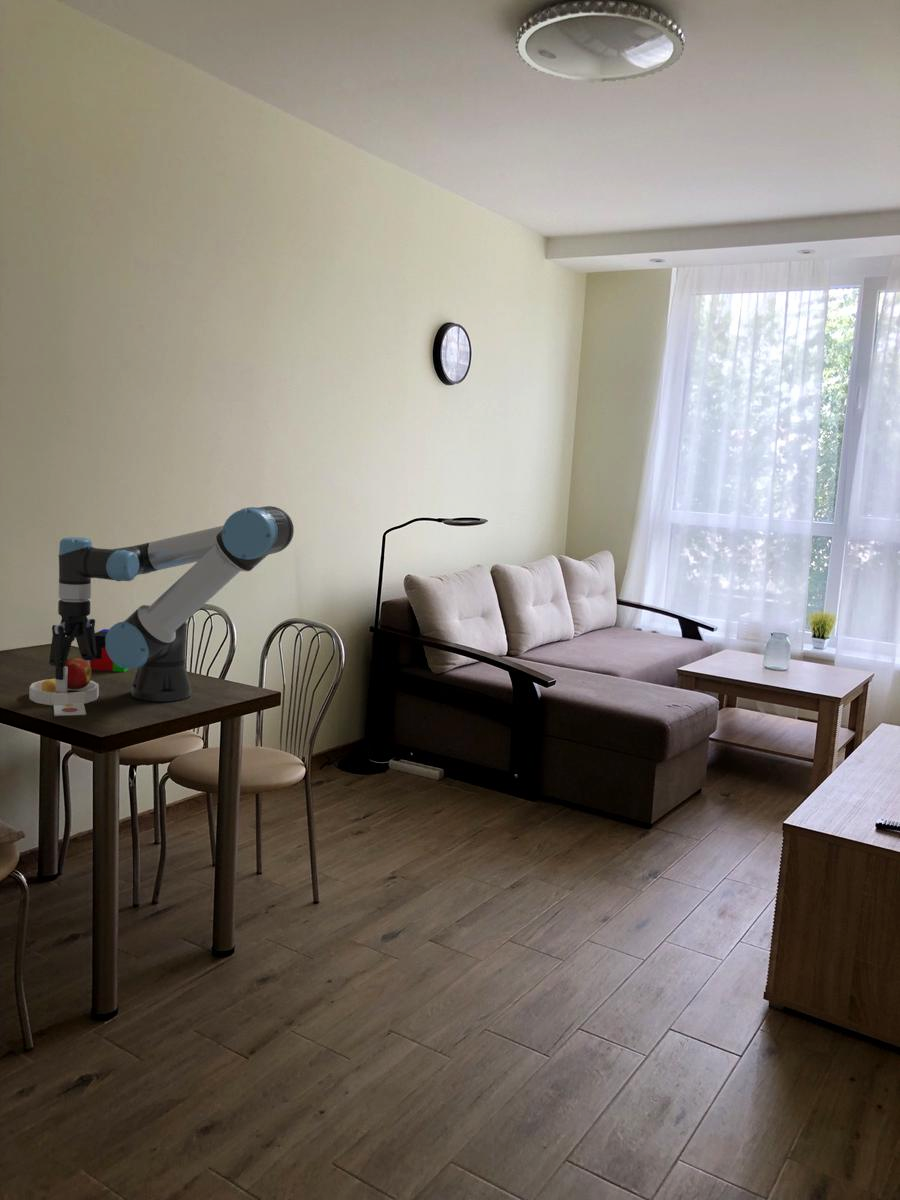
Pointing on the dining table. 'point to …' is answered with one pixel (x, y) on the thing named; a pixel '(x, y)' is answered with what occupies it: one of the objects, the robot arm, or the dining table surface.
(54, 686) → the orange egg
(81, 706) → the card
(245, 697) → the dining table surface
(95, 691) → the ring
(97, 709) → the dining table surface
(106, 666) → the puzzle toy
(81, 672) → the apple
